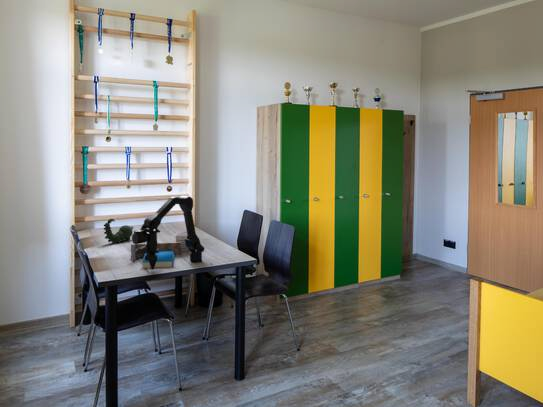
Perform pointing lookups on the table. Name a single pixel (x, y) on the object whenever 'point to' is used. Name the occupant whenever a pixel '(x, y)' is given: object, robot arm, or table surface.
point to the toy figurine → (122, 234)
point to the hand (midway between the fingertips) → (152, 269)
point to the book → (161, 260)
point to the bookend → (134, 252)
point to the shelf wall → (163, 247)
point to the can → (182, 241)
